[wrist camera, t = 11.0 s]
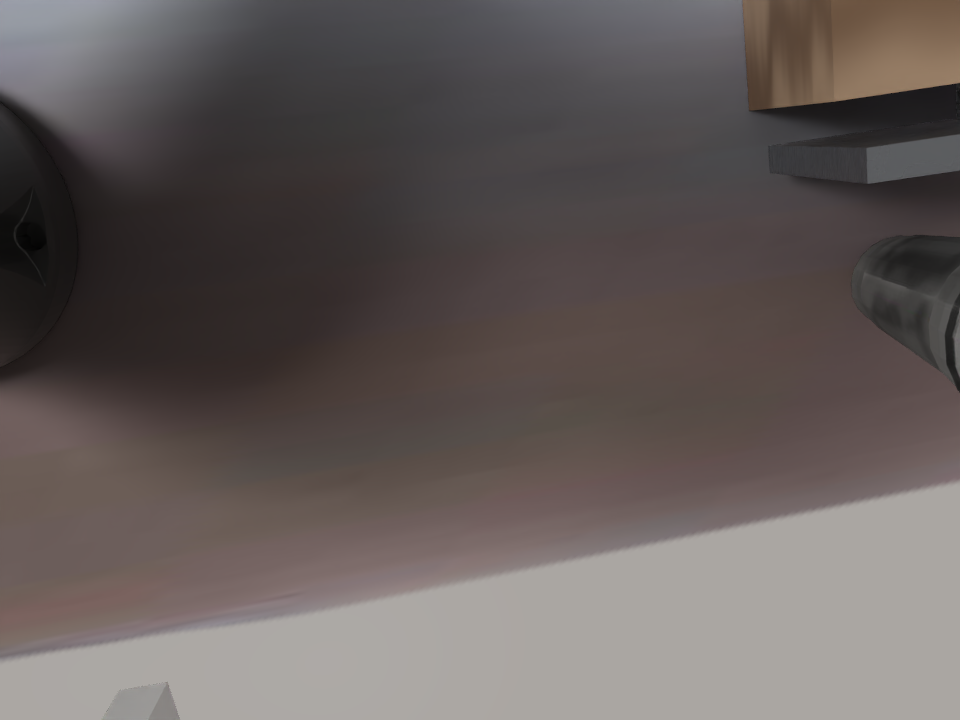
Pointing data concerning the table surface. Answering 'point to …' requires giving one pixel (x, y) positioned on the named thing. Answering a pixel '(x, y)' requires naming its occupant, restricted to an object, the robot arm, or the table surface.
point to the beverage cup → (914, 296)
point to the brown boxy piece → (847, 49)
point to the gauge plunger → (874, 153)
